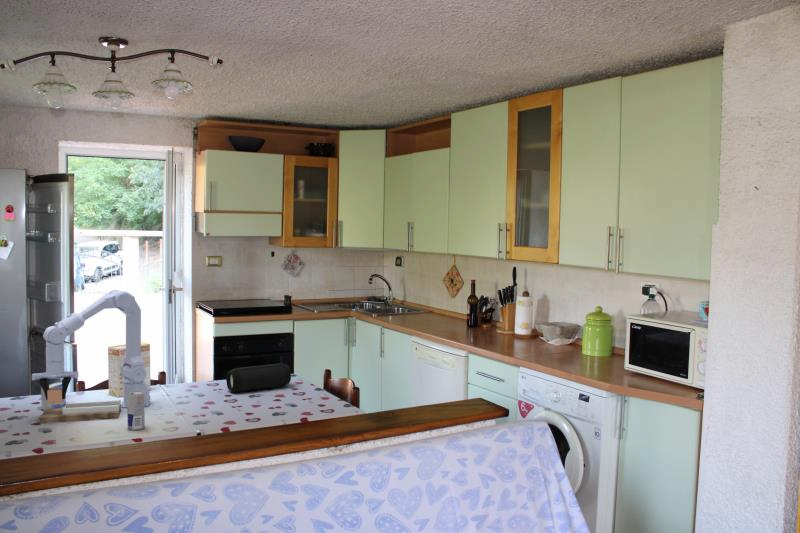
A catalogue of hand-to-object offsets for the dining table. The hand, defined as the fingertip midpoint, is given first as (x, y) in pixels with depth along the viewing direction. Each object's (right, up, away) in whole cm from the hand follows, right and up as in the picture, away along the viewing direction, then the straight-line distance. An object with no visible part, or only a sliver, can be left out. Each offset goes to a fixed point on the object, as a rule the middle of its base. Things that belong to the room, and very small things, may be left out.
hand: (55, 399), depth 242 cm
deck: (+8, -7, +3) cm, 11 cm away
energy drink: (+32, -8, -11) cm, 35 cm away
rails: (+11, -5, +4) cm, 13 cm away
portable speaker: (+62, -5, +47) cm, 78 cm away
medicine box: (-8, -6, +14) cm, 17 cm away
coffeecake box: (+11, -5, +38) cm, 40 cm away
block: (0, -1, 0) cm, 1 cm away
